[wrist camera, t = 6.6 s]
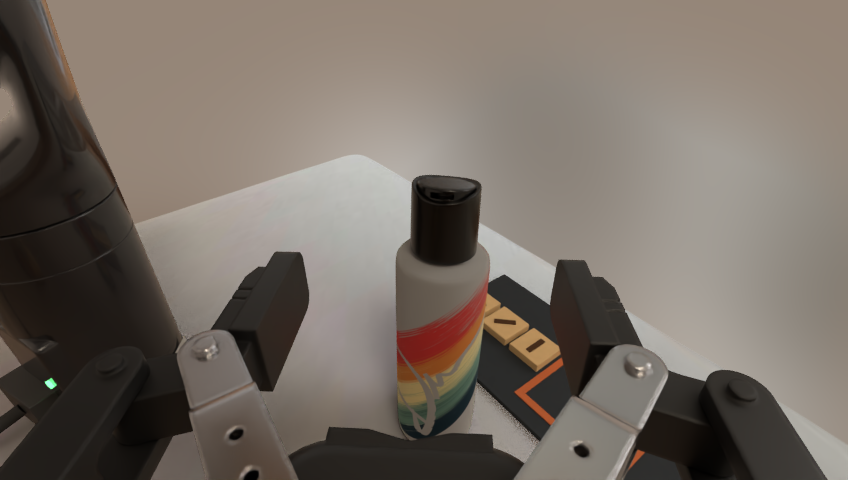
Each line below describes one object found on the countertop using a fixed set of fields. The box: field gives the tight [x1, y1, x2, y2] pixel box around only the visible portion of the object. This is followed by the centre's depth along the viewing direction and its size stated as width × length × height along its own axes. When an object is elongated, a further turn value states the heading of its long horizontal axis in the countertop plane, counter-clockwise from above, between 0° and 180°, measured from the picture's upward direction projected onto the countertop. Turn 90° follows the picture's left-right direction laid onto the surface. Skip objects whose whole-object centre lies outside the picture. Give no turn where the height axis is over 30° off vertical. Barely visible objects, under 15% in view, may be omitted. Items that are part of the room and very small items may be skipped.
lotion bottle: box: [396, 175, 490, 440], centre depth 29 cm, size 6×6×20 cm
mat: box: [477, 275, 681, 480], centre depth 38 cm, size 24×12×1 cm, turn 37°
